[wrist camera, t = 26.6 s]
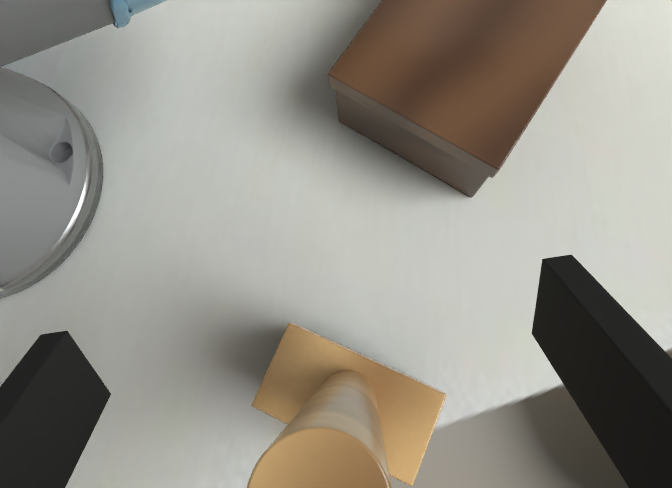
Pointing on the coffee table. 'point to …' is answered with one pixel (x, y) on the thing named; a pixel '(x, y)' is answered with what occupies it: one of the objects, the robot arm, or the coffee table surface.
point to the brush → (341, 417)
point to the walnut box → (456, 78)
